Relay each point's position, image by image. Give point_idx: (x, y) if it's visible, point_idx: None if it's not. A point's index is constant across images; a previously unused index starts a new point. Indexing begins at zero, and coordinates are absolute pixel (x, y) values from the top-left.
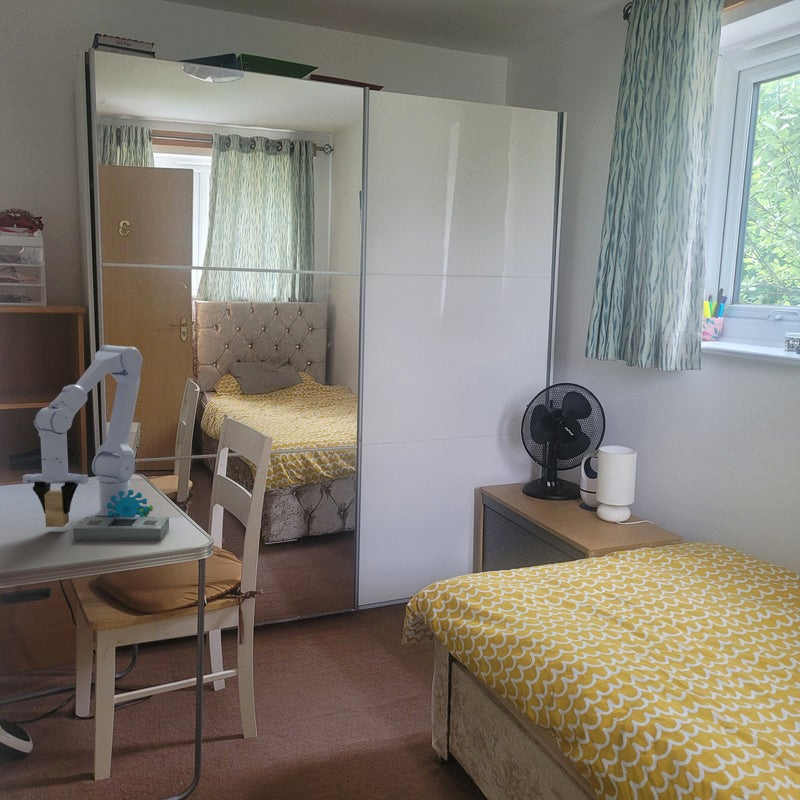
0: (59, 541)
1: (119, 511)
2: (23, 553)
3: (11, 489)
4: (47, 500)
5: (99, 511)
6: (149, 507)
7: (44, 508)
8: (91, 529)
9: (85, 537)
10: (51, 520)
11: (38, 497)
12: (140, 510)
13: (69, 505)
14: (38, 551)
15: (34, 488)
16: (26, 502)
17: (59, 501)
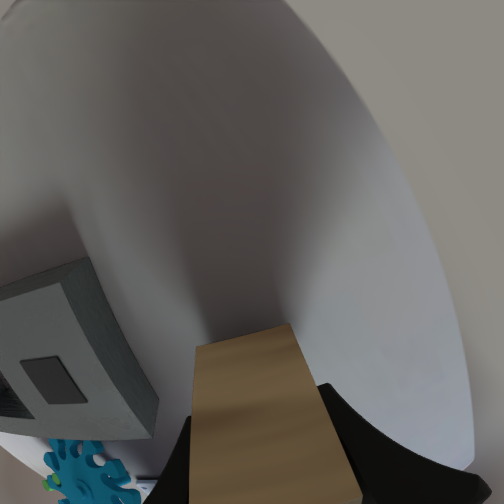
0: (145, 227)
1: (92, 475)
2: (213, 22)
3: (468, 459)
4: (319, 458)
5: None
6: (46, 484)
7: (334, 404)
8: (1, 299)
9: (39, 275)
10: (262, 354)
11: (406, 449)
12: (56, 477)
13: None
14: (155, 62)
15: (477, 495)
16: (441, 450)
17: (209, 473)
